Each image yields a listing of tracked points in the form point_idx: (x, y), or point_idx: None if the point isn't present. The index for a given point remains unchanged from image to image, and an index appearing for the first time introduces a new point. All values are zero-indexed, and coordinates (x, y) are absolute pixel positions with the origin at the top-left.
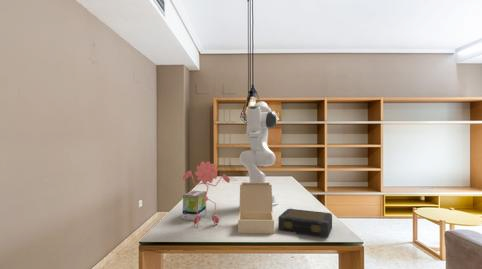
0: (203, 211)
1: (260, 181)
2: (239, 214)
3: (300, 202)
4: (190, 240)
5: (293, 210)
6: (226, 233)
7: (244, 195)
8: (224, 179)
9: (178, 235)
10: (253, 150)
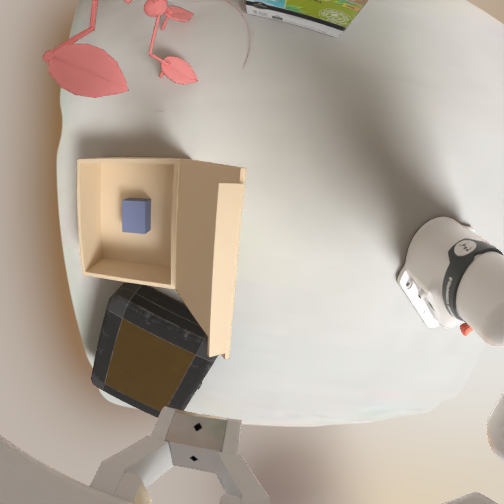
0: (309, 22)
1: (469, 311)
2: (137, 160)
3: (423, 385)
4: None
5: (191, 358)
6: (106, 122)
7: (205, 189)
8: (105, 58)
9: (109, 6)
10: (101, 483)
